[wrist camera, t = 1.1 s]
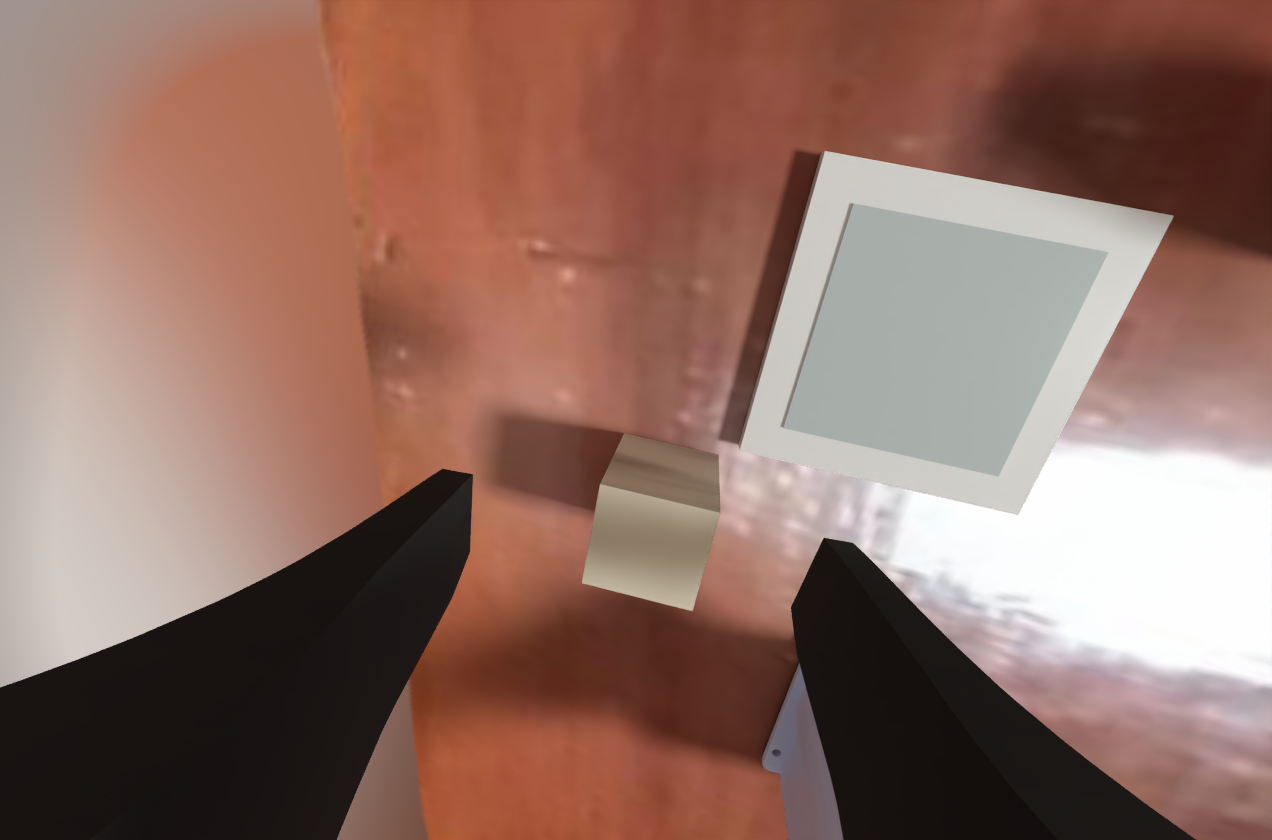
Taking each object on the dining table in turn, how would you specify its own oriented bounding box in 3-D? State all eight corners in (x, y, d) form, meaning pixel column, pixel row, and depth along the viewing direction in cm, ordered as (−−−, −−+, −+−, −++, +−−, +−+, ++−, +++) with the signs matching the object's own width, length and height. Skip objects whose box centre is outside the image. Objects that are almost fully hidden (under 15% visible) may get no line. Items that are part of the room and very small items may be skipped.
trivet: (1007, 505, 22) (1019, 516, 21) (738, 444, 23) (739, 451, 22) (1154, 216, 18) (1176, 215, 17) (820, 154, 19) (825, 150, 18)
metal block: (696, 536, 25) (692, 611, 20) (608, 514, 25) (581, 583, 20) (718, 454, 23) (720, 513, 18) (624, 432, 24) (600, 484, 19)
